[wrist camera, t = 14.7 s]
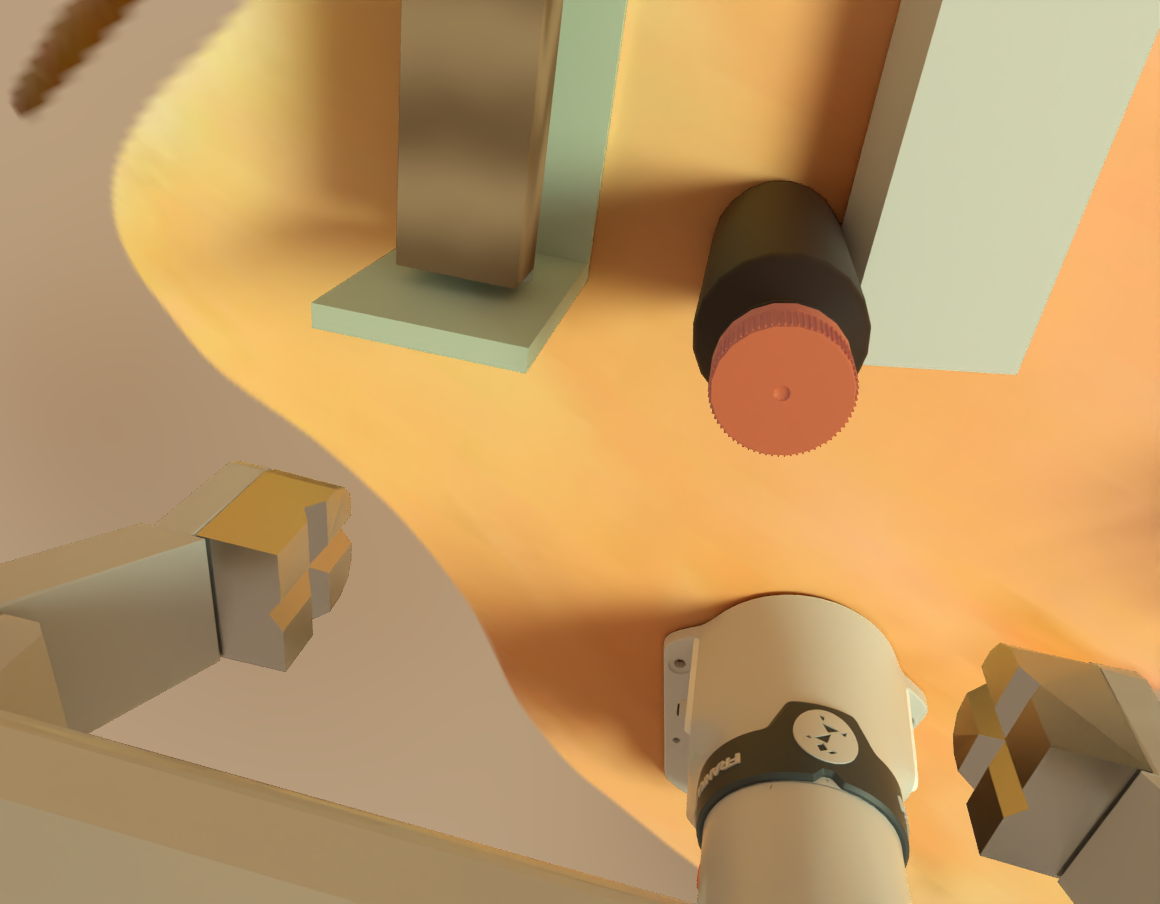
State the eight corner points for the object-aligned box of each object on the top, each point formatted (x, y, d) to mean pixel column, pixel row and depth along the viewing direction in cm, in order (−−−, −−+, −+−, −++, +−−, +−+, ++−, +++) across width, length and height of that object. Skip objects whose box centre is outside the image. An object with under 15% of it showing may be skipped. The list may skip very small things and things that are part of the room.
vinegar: (725, 170, 42) (698, 278, 25) (855, 188, 42) (918, 314, 24) (703, 292, 46) (665, 461, 29) (822, 312, 45) (856, 498, 28)
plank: (434, -72, 34) (403, -80, 31) (569, -51, 34) (550, -57, 31) (422, 246, 41) (395, 264, 38) (533, 268, 41) (515, 289, 38)
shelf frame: (587, 280, 47) (525, 373, 35) (425, 248, 48) (312, 327, 36) (643, -105, 37) (585, -159, 25) (440, -134, 38) (292, -200, 26)
